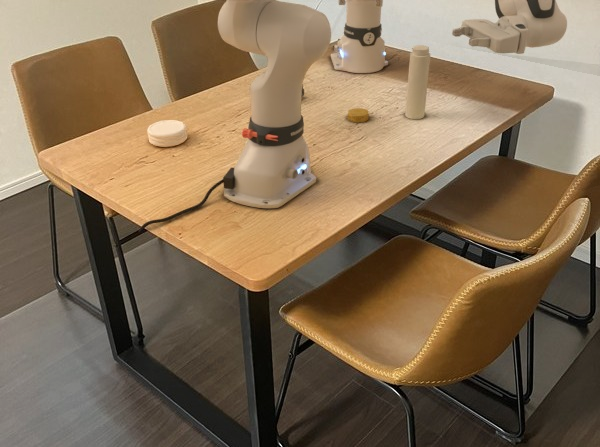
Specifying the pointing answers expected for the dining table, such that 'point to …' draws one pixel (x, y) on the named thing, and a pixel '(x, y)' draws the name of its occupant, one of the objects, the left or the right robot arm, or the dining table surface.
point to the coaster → (167, 133)
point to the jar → (417, 82)
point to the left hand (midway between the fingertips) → (360, 5)
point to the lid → (358, 115)
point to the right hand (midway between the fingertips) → (461, 37)
